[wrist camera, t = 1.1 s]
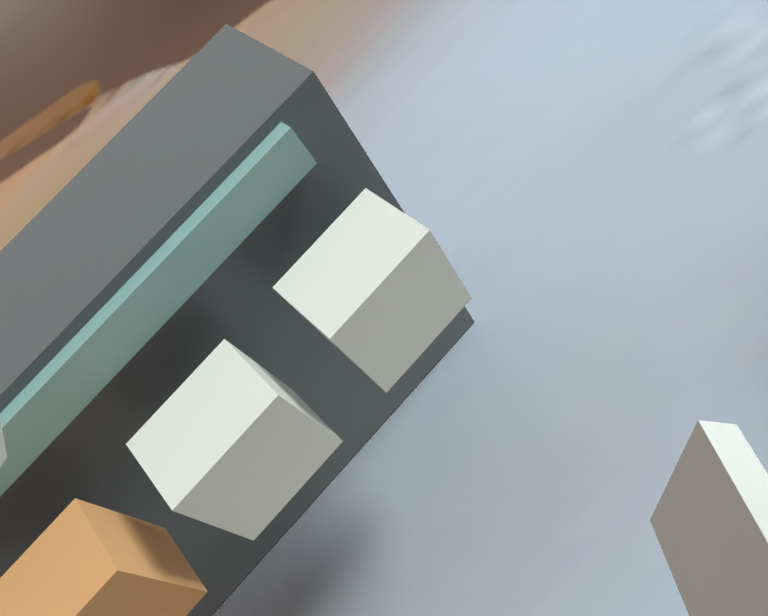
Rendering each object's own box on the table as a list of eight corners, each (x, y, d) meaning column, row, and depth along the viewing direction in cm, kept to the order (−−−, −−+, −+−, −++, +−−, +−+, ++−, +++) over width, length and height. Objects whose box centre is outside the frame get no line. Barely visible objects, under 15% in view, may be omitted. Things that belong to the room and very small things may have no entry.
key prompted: (165, 527, 29) (74, 498, 25) (207, 591, 27) (117, 570, 23) (76, 624, 29) (-30, 609, 25) (113, 696, 27) (4, 693, 23)
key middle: (292, 389, 30) (224, 338, 26) (343, 441, 28) (278, 394, 24) (207, 481, 29) (125, 444, 25) (253, 540, 27) (172, 510, 23)
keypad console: (405, 271, 45) (225, 23, 29) (481, 327, 41) (323, 76, 25) (145, 556, 43) (-208, 460, 27) (199, 643, 39) (-175, 593, 23)
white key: (413, 256, 31) (365, 187, 27) (471, 298, 29) (429, 229, 25) (333, 344, 30) (272, 287, 26) (386, 392, 28) (329, 338, 24)
